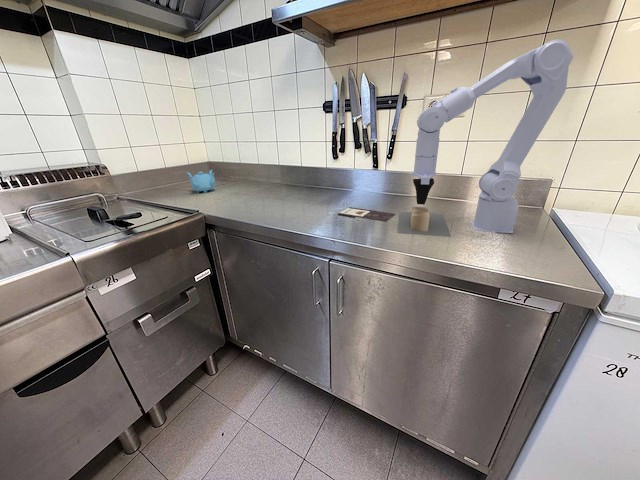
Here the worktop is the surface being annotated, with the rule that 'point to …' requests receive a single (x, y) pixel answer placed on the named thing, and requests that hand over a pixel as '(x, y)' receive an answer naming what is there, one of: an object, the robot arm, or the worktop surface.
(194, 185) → the teapot
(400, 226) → the rubber mat
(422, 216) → the birch block
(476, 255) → the worktop surface
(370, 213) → the chocolate bar
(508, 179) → the robot arm
